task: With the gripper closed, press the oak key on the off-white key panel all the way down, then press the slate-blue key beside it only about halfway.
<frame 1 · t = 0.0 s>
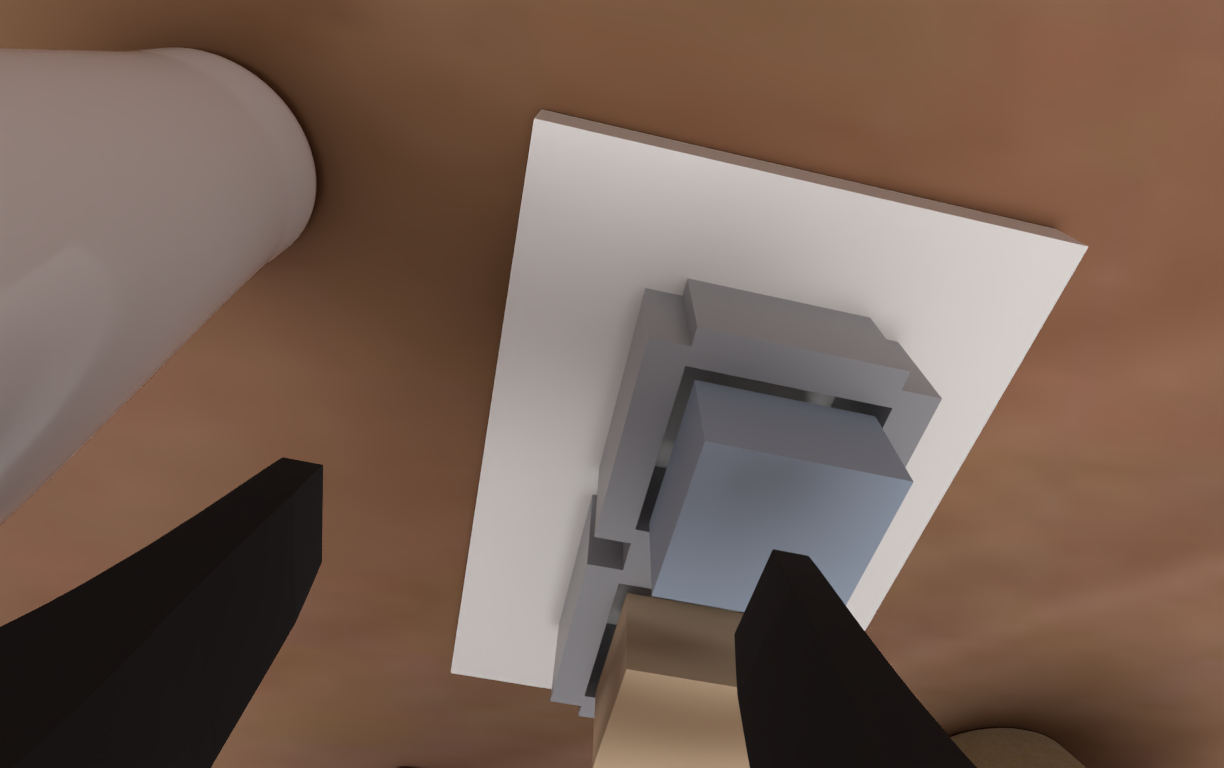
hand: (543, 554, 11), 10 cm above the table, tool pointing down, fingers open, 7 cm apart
key panel: (701, 473, 23), on the table
drinking glass: (226, 156, 18), on the table
key oak: (685, 694, 19), point 6 cm above the table, slide at 0.0 cm
key slate: (764, 505, 16), point 6 cm above the table, slide at 0.0 cm
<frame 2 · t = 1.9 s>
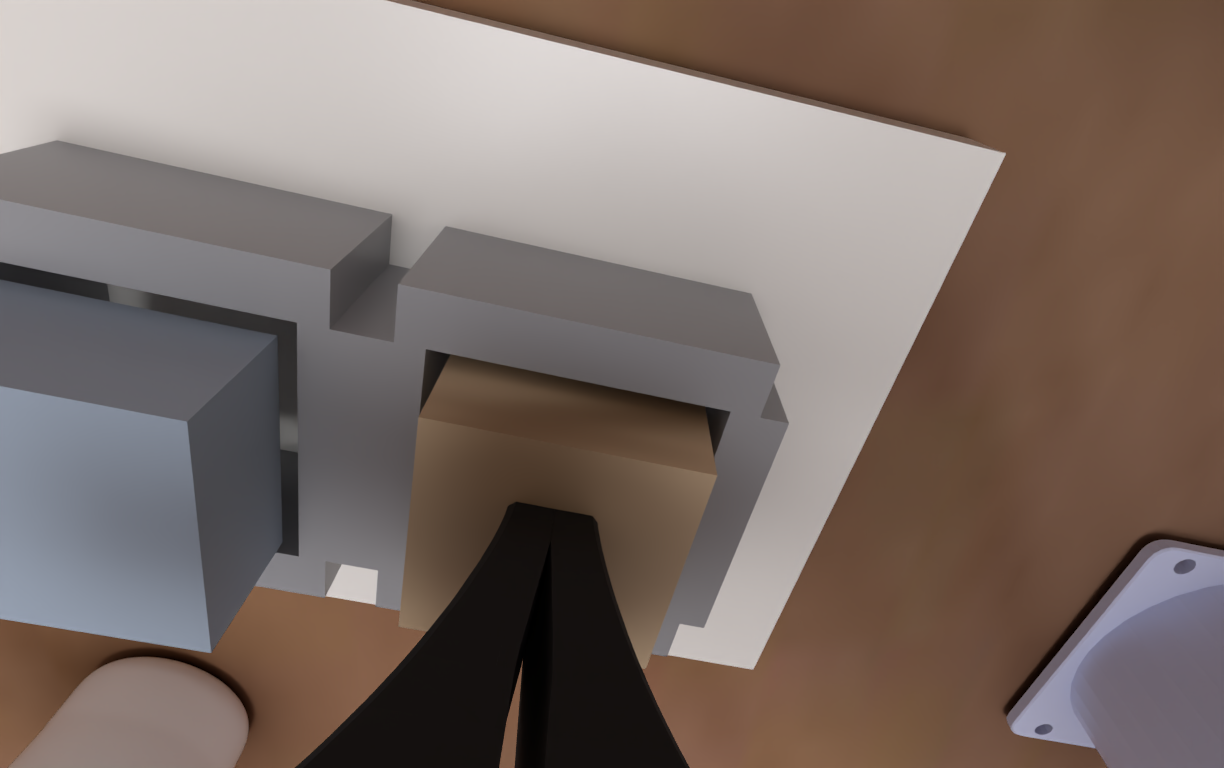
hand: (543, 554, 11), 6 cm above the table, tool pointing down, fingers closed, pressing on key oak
key panel: (424, 347, 16), on the table
drinking glass: (178, 696, 23), on the table
key oak: (552, 506, 12), point 5 cm above the table, slide at 1.1 cm, touching gripper
key slate: (98, 467, 10), point 6 cm above the table, slide at 0.0 cm
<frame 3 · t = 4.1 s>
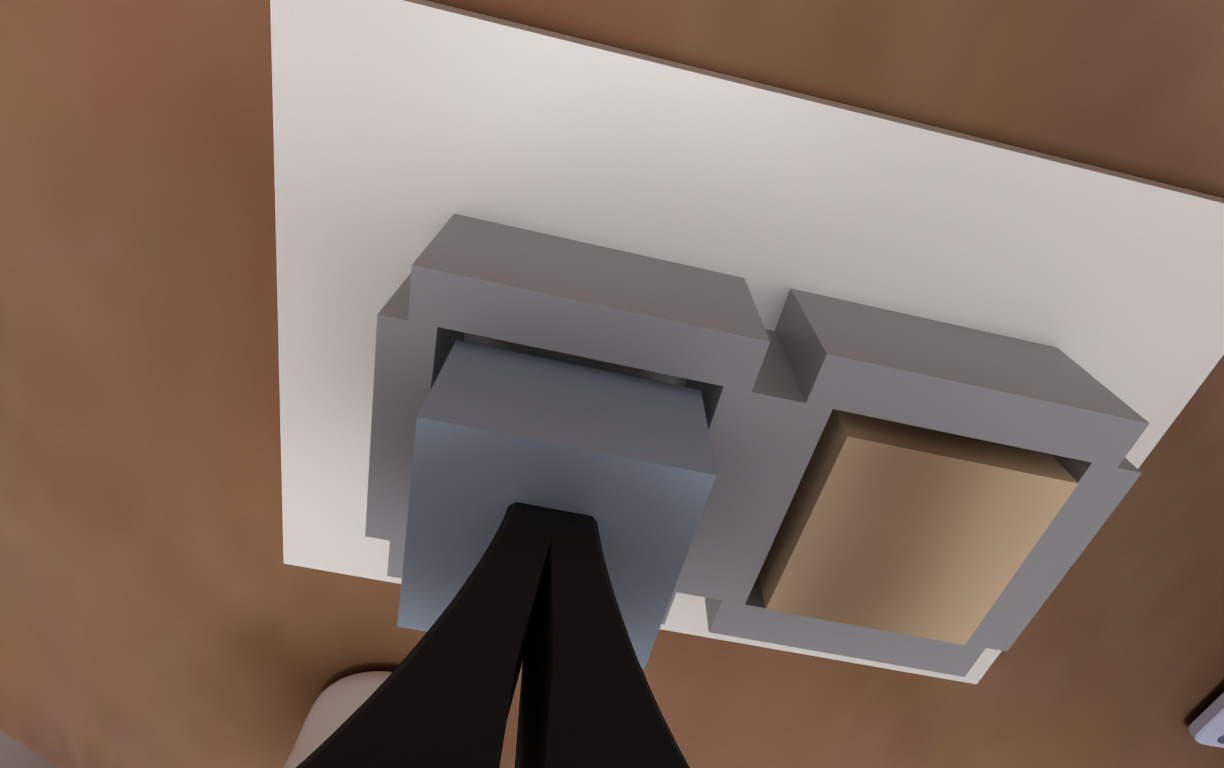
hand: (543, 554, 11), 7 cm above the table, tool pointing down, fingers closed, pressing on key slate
key panel: (711, 389, 17), on the table
drinking glass: (396, 707, 24), on the table
key oak: (890, 508, 14), point 4 cm above the table, slide at 2.2 cm
key slate: (551, 506, 12), point 6 cm above the table, slide at 0.2 cm, touching gripper
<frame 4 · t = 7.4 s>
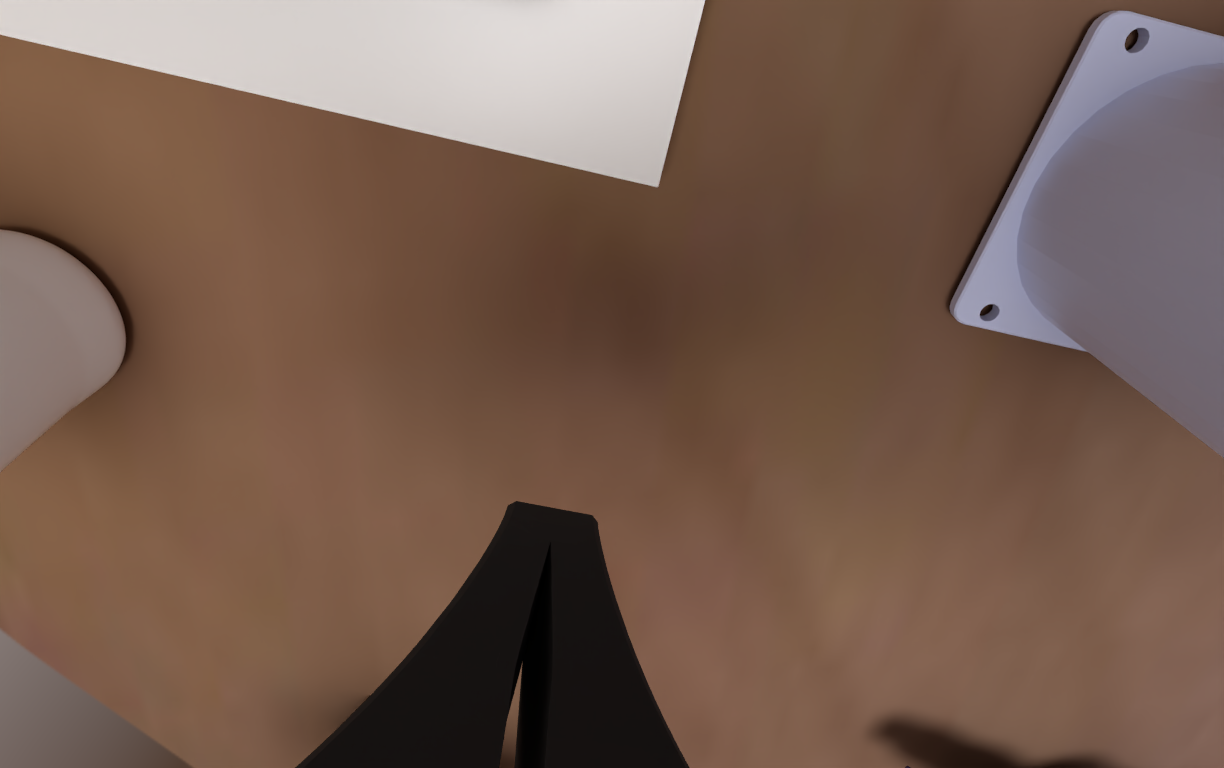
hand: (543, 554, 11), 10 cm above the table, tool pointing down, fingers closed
drinking glass: (50, 306, 21), on the table
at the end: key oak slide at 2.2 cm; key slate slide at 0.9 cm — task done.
